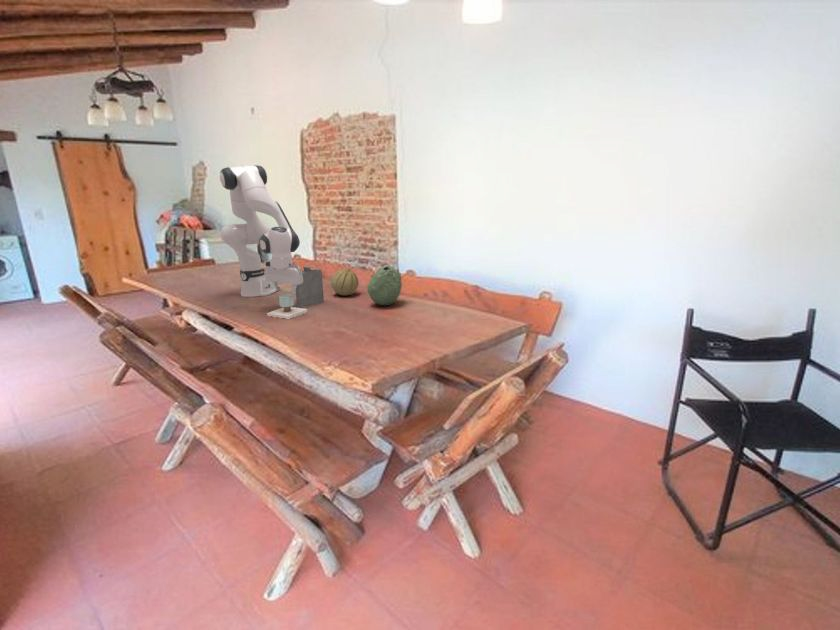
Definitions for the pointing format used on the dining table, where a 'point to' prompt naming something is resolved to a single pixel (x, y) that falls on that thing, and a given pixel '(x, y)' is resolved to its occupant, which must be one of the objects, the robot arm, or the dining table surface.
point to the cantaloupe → (344, 282)
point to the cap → (286, 300)
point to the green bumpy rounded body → (385, 285)
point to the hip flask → (310, 288)
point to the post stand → (287, 312)
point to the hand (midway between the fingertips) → (285, 291)
